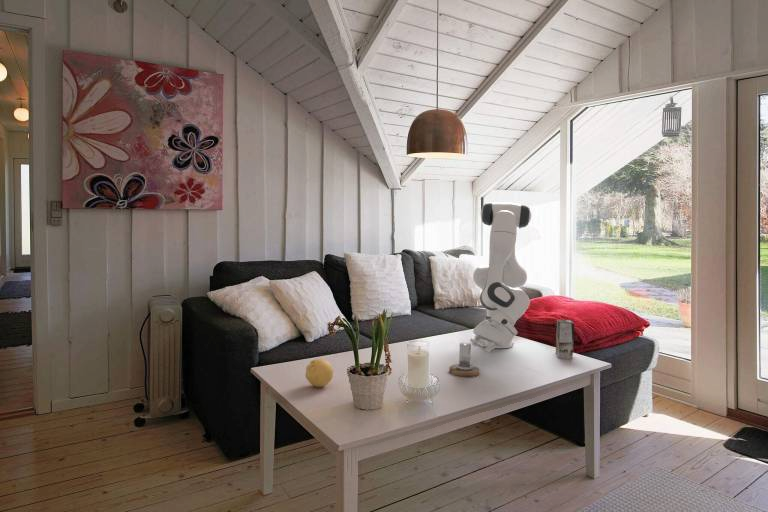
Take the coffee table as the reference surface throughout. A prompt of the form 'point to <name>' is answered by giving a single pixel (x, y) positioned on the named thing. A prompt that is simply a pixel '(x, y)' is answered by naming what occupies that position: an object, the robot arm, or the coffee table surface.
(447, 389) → the coffee table surface
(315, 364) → the stress ball
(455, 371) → the base disc
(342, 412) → the coffee table surface
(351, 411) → the coffee table surface
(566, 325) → the coffee box
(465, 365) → the knob
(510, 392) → the coffee table surface
